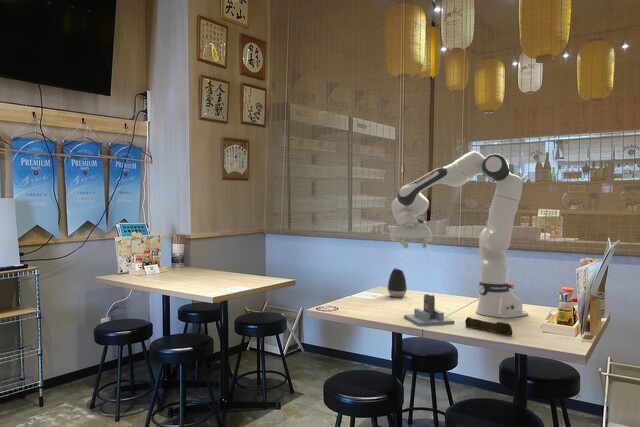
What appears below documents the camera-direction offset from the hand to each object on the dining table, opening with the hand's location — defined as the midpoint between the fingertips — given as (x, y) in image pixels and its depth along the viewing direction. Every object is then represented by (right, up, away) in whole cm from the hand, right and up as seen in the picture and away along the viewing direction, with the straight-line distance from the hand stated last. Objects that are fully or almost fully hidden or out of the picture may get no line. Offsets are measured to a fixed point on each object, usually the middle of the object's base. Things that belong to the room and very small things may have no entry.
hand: (415, 247), depth 220 cm
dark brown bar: (+22, -31, -34) cm, 51 cm away
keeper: (+2, -30, -19) cm, 35 cm away
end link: (+2, -28, -19) cm, 34 cm away
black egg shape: (-3, -29, +33) cm, 44 cm away
